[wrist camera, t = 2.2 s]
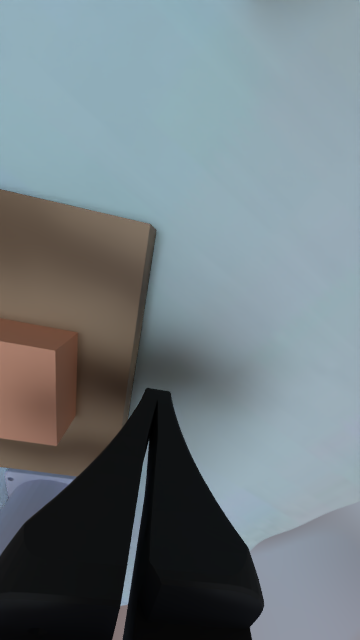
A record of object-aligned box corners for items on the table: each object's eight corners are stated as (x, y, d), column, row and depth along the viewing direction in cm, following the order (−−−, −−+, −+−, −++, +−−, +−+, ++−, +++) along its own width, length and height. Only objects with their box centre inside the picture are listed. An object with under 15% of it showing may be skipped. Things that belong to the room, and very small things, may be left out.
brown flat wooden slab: (123, 449, 17) (113, 481, 14) (-46, 425, 16) (-86, 456, 13) (156, 230, 11) (149, 223, 8) (-113, 168, 10) (-205, 142, 7)
